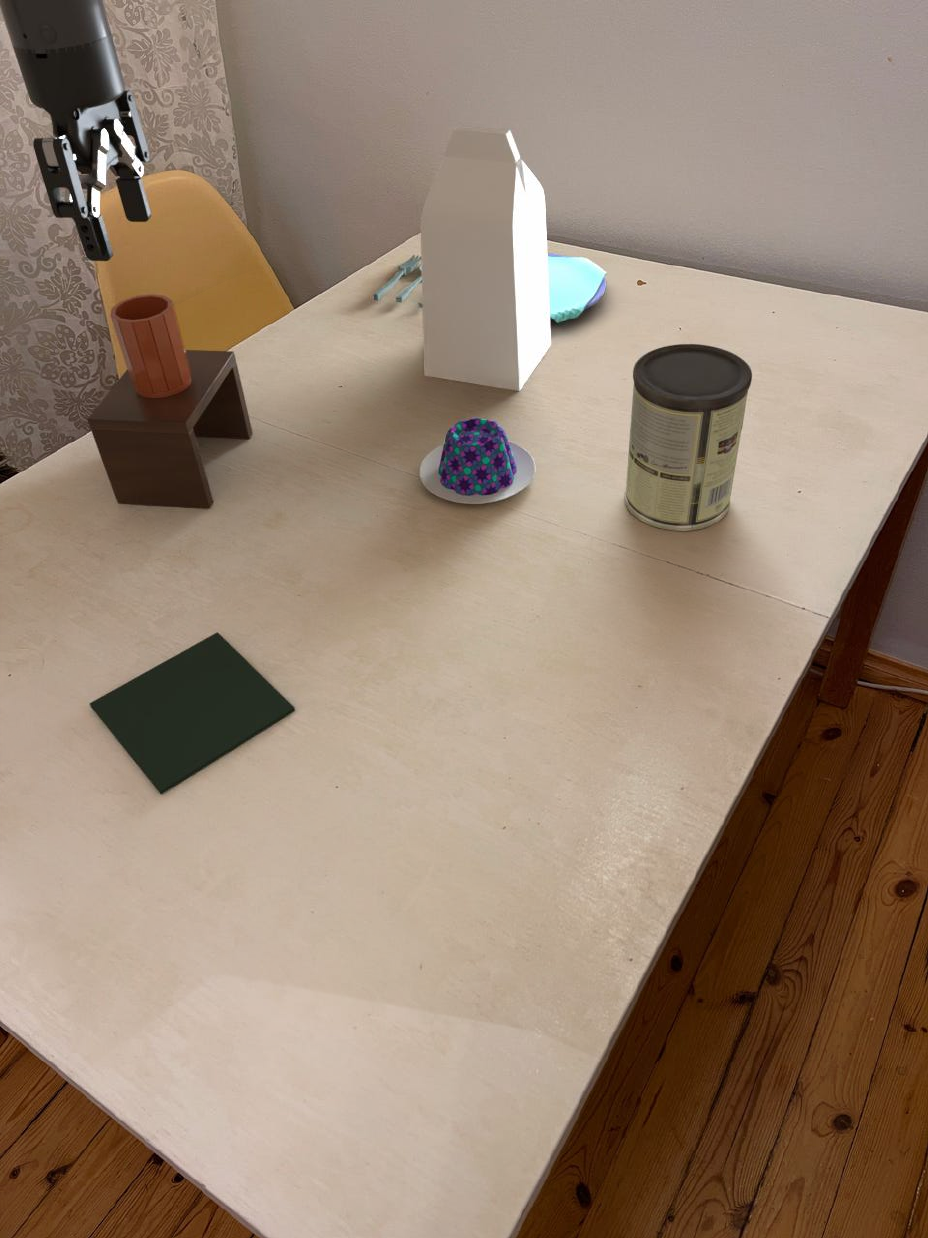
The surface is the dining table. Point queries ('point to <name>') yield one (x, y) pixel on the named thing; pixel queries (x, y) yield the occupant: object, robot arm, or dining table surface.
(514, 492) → the pudding
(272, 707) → the mat
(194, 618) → the dining table surface
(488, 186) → the milk
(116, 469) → the shelf
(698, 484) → the coffee can
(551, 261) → the cutlery set
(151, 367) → the cup
